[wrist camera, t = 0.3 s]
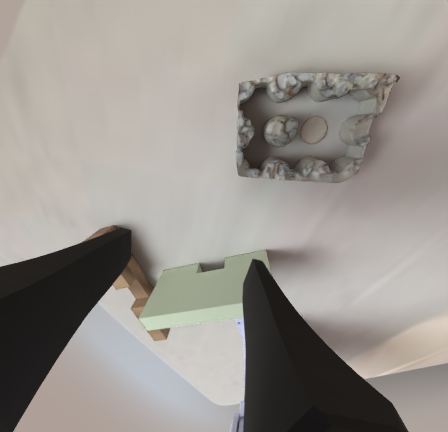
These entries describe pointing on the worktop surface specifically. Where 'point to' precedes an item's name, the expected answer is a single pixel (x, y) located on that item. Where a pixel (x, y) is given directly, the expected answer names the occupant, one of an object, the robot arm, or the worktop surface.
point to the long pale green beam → (199, 294)
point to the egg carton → (314, 123)
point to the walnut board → (135, 287)
